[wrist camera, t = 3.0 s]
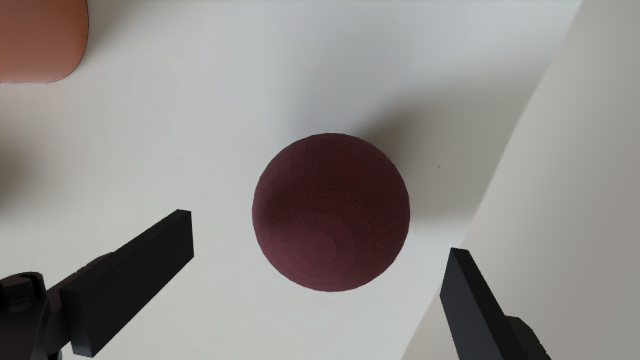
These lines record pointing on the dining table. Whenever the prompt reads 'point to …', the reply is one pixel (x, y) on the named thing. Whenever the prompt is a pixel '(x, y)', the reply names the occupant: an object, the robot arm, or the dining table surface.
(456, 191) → the dining table surface
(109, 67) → the dining table surface
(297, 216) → the decorative ball
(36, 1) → the pedestal
